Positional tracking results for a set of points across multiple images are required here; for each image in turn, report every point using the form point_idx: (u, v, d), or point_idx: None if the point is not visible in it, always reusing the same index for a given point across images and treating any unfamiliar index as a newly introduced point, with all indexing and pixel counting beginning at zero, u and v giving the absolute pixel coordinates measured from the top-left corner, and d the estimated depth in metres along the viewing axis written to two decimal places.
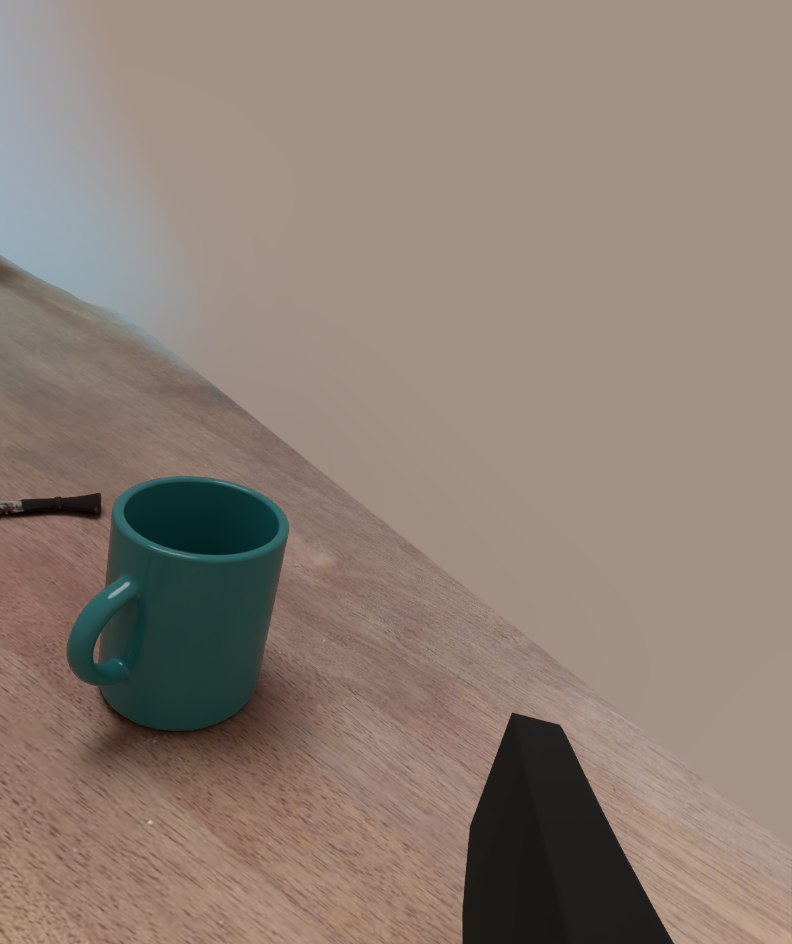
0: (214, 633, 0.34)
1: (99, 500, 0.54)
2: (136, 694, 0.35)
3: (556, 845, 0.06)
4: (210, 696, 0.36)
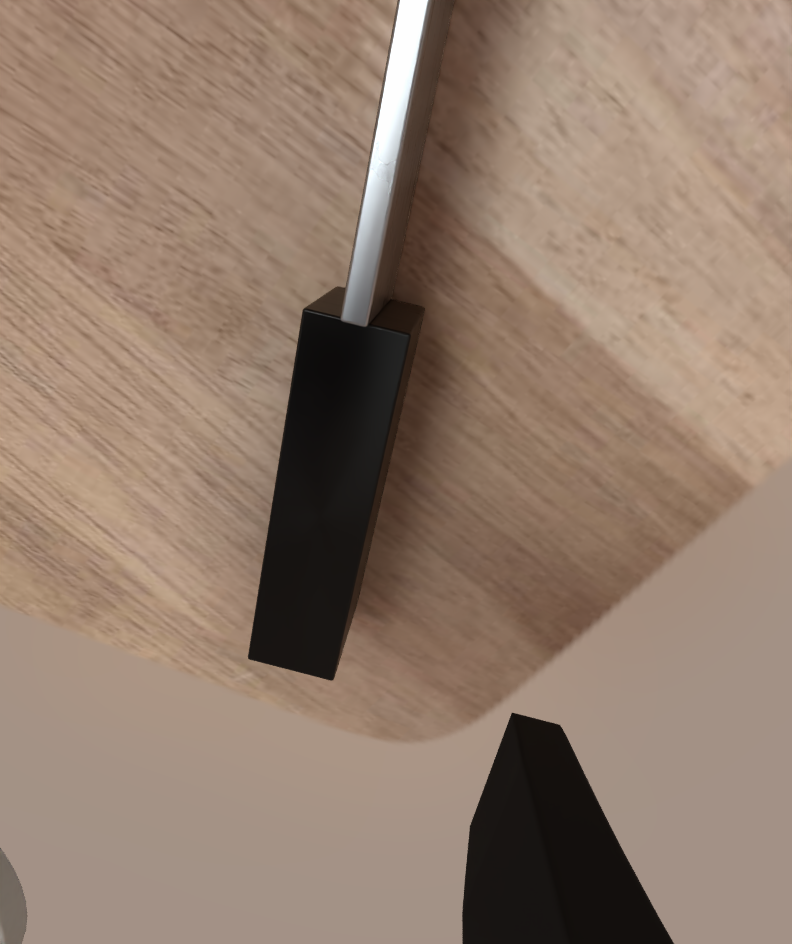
0: None
1: None
2: None
3: (556, 845, 0.06)
4: None
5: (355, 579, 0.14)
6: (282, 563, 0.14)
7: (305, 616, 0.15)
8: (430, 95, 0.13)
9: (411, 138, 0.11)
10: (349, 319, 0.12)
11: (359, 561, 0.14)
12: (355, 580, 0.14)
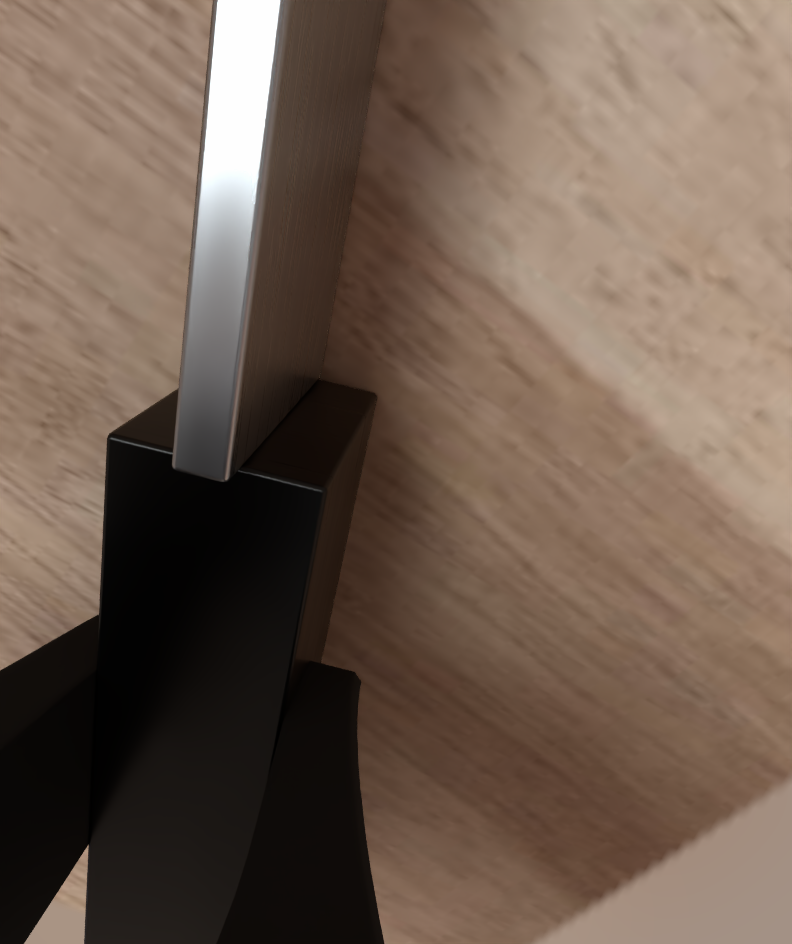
0: None
1: None
2: None
3: (282, 773, 0.06)
4: None
5: None
6: (122, 853, 0.08)
7: (168, 931, 0.09)
8: (371, 3, 0.06)
9: (315, 77, 0.05)
10: (190, 467, 0.06)
11: None
12: None
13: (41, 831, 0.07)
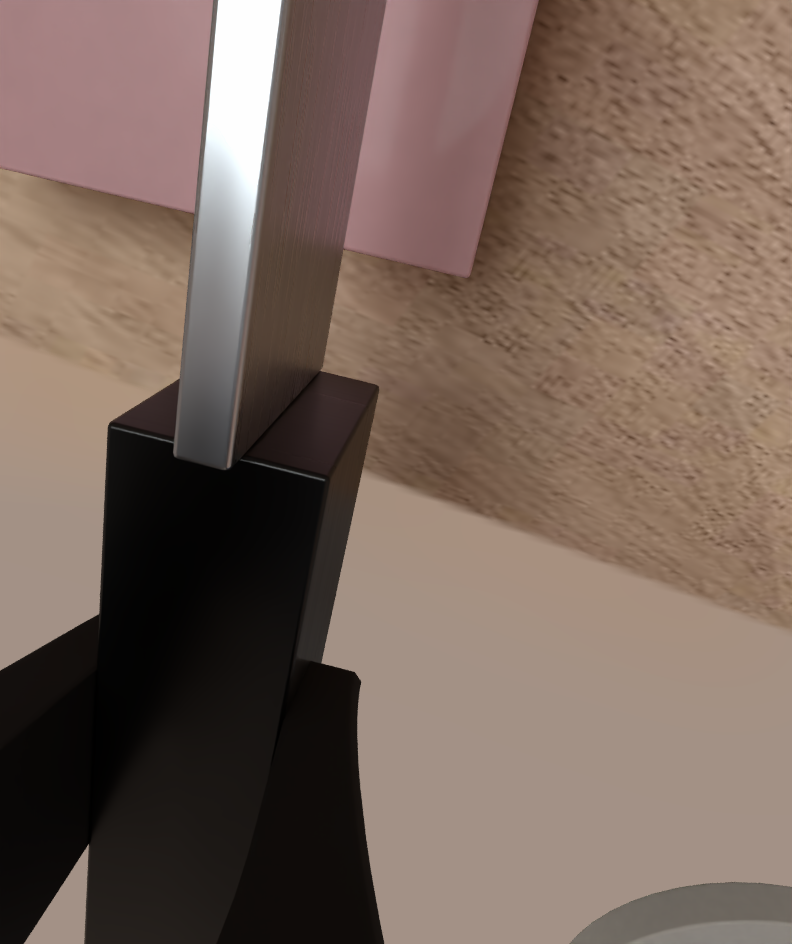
0: None
1: None
2: None
3: (282, 773, 0.06)
4: None
5: None
6: (122, 848, 0.08)
7: (169, 927, 0.08)
8: None
9: (318, 60, 0.05)
10: (191, 455, 0.05)
11: None
12: None
13: (41, 831, 0.07)
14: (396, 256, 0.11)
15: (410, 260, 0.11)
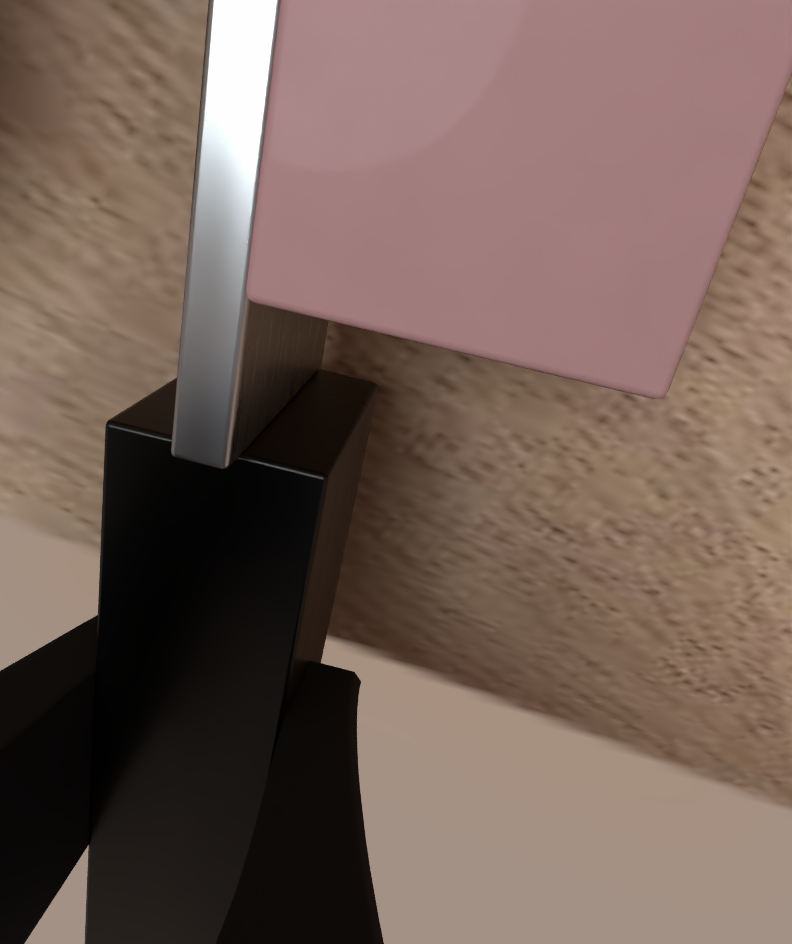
0: None
1: None
2: None
3: (282, 773, 0.06)
4: None
5: None
6: (121, 847, 0.08)
7: (169, 925, 0.08)
8: None
9: None
10: (189, 453, 0.05)
11: None
12: None
13: (41, 831, 0.07)
14: (495, 350, 0.05)
15: (528, 360, 0.05)
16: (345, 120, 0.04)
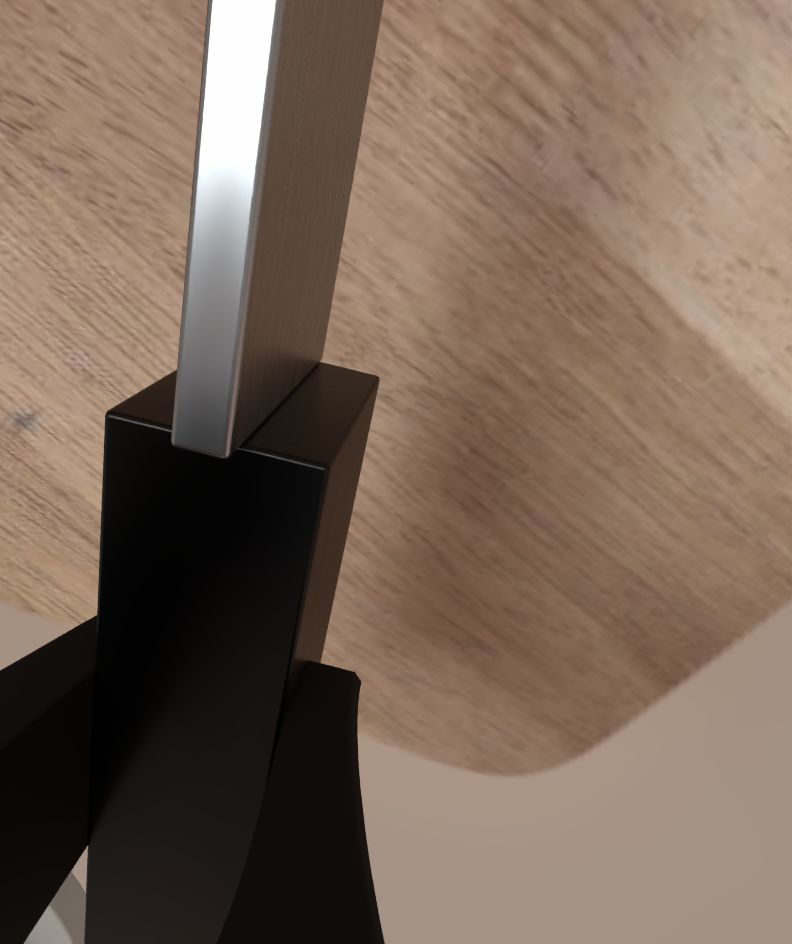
0: None
1: None
2: None
3: (283, 773, 0.06)
4: None
5: None
6: (121, 841, 0.08)
7: (170, 920, 0.08)
8: None
9: (316, 42, 0.05)
10: (190, 443, 0.05)
11: None
12: None
13: (41, 831, 0.07)
14: None
15: None
16: None
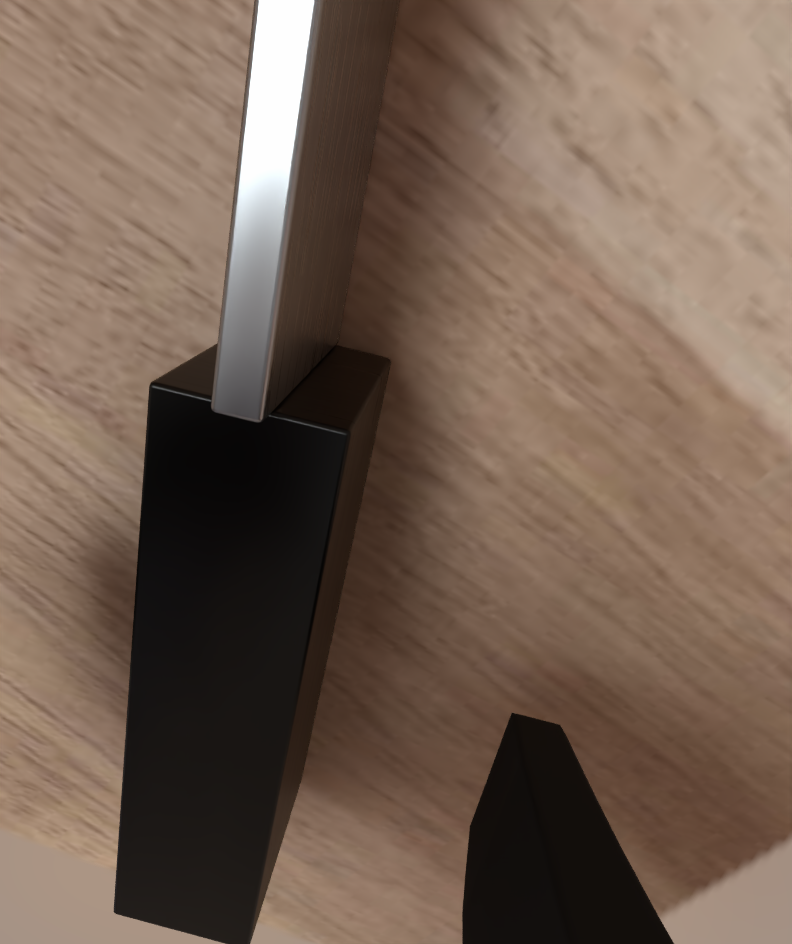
0: None
1: None
2: None
3: (556, 845, 0.06)
4: None
5: (273, 814, 0.09)
6: (153, 786, 0.09)
7: (196, 863, 0.09)
8: None
9: (342, 53, 0.06)
10: (227, 409, 0.06)
11: (278, 789, 0.08)
12: (274, 815, 0.09)
13: None
14: None
15: None
16: None
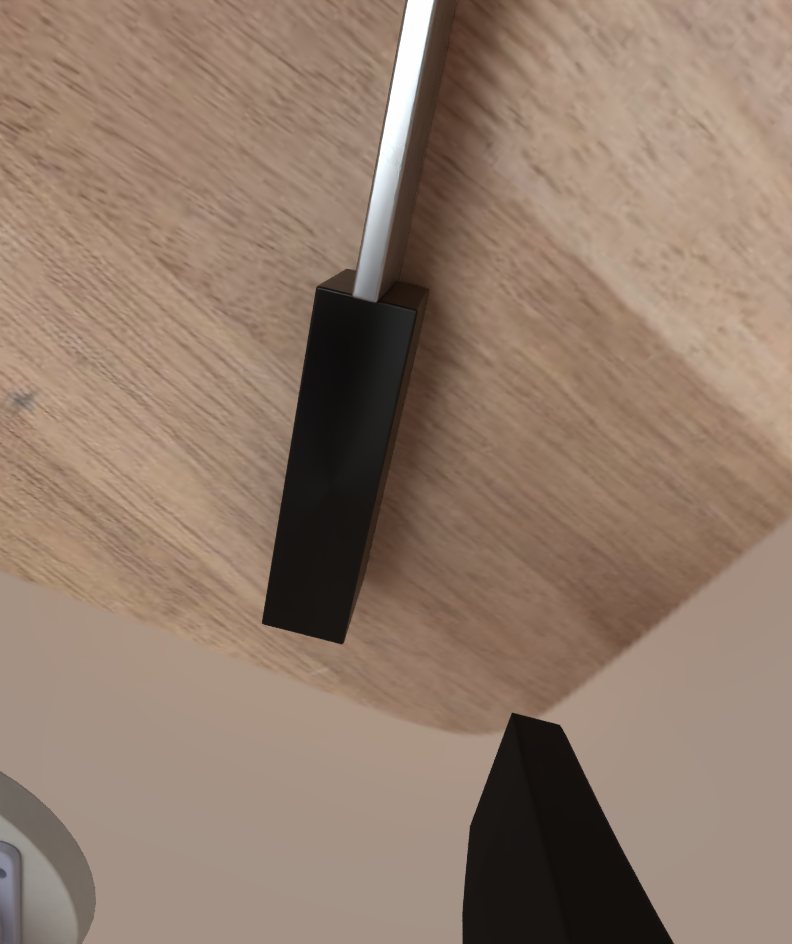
0: None
1: None
2: None
3: (556, 845, 0.06)
4: None
5: (364, 545, 0.15)
6: (295, 530, 0.15)
7: (317, 582, 0.16)
8: (435, 86, 0.13)
9: (418, 125, 0.12)
10: (360, 295, 0.13)
11: (368, 528, 0.15)
12: (364, 546, 0.15)
13: None
14: None
15: None
16: None
